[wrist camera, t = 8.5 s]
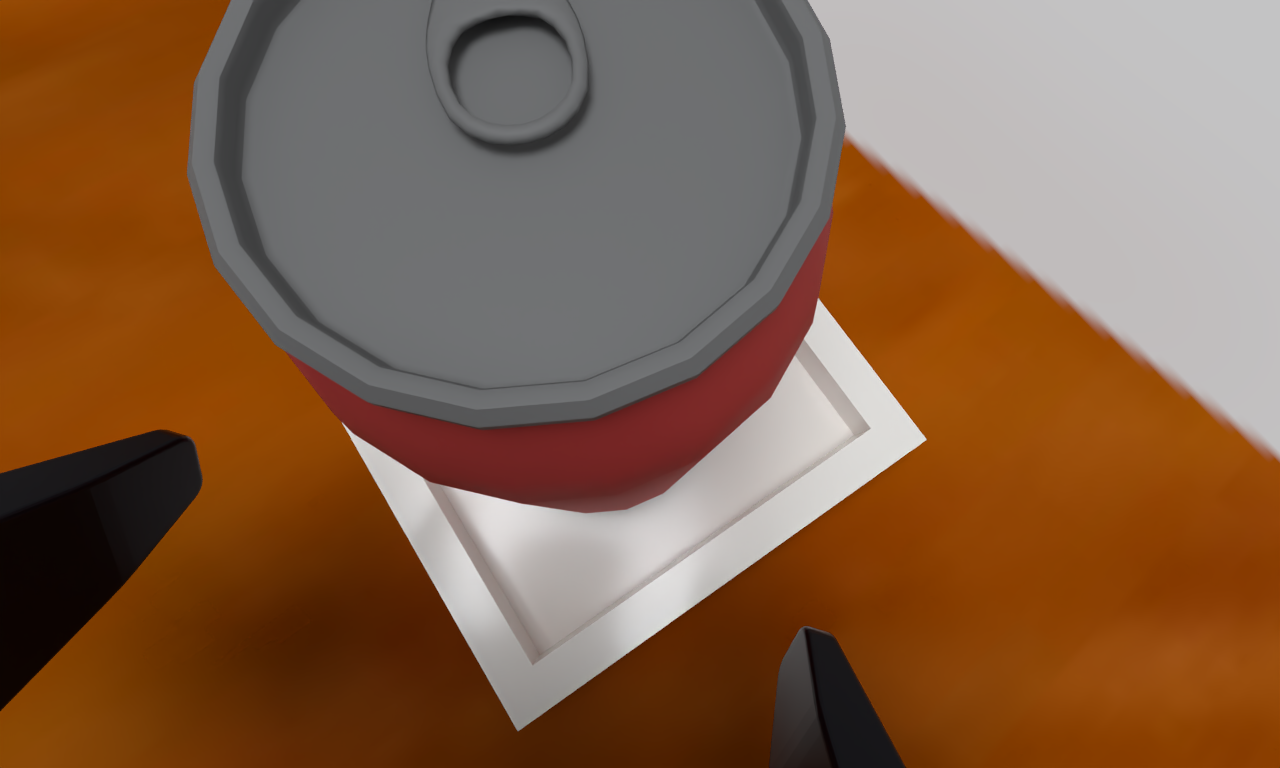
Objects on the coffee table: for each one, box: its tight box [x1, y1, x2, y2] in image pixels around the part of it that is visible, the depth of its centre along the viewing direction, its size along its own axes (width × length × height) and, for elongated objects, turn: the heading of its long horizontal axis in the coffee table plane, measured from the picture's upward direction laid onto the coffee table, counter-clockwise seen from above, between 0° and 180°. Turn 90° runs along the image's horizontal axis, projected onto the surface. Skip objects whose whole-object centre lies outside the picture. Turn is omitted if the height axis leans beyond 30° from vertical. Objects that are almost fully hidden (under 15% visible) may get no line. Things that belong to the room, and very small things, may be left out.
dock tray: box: [343, 299, 927, 731], centre depth 17 cm, size 12×12×2 cm
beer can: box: [187, 0, 846, 513], centre depth 11 cm, size 7×7×12 cm
